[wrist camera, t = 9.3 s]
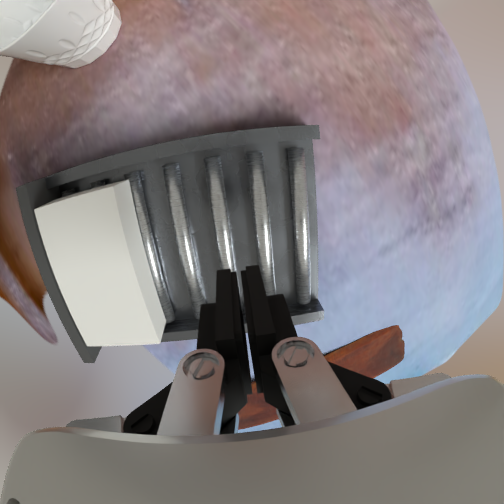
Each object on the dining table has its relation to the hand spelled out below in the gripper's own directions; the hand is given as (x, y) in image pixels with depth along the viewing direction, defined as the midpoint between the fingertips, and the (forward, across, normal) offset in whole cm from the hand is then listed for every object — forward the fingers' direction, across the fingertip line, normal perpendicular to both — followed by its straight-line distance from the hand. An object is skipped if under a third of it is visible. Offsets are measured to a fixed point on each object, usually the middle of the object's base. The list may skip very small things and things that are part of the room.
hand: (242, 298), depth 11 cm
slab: (+9, +10, +2) cm, 14 cm away
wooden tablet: (+11, -6, +22) cm, 26 cm away
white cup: (+12, +11, -18) cm, 24 cm away
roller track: (+11, +4, +2) cm, 12 cm away
